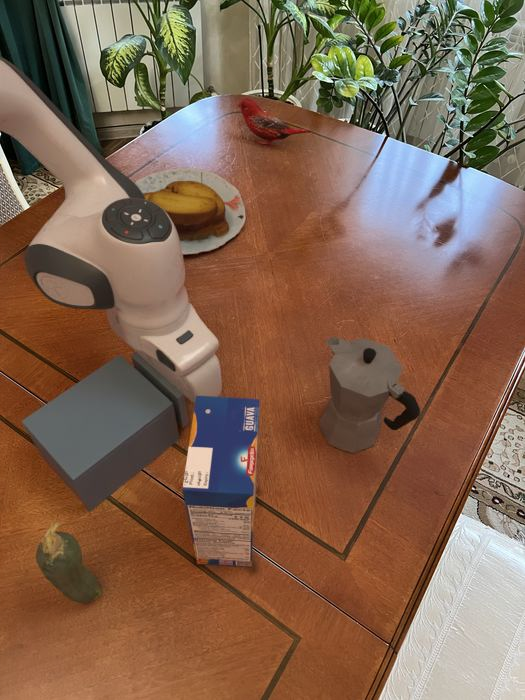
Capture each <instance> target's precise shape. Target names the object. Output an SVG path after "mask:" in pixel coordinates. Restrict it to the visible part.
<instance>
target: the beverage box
mask: <svg viewBox="0 0 525 700" xmlns="http://www.w3.org/2000/svg"><path fill="white" fill-rule="evenodd" d="M260 400H261V399H260V398H244V397H229V396H227V397H226V396H219V397H211V396H196V401H195V404H194V409H193V413H192V414H193V415H192V421H191V422H192V423H191V428H190V435H189V442H188V449H187V454H186V464H185V469H184V475H183V476H184V477H183V484H182V490H181V491H182V495H183V500H184V505H185V510H186V515H187V520H188V525H189V529H190V535H191V539H192V540H191V541H192V545H193V550H194V555H195V560H196V564H197V565H206V566H207V565H208V566H224V567H237V568H238V567H239V568H252V564H253V548H254V547H253V546H254V533H255V531H254V530H255V516H256V515H255V513H256V499H257V498H256V497H257V482H258V481H257V480H258V451H259V450H258V449H259V427H260V424H259V423H260V404H261V403H260Z"/></svg>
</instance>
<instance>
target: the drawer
mask: <svg viewBox="0 0 525 700" xmlns="http://www.w3.org/2000/svg"><path fill="white" fill-rule="evenodd" d="M130 358H131V362H132V366H133V367H134V368H135V369H136V370H138V371H139V372H140V373H141V374H142V375H143V376H144V377H145V378H146V379H147V380H148V381H149V382H151V383H152V384H153V385H154V386H155V387H156V388H157V389H158V390H159V391H160V392H161V393H162V394H164V395H165V396H166V397H167V398H168V399H169V400H170V401H171V402H172V403H173V406H174V411H175V417H176V422H177V425H179V426H180V427H181V428H182V429H183V428H185V427H186V426H187V425H189V424H190V422H189V420H190V419H189V414H188V408H187V407H188V406H187V401H186V396H185V395H184V394H183V393H181V392H180V391H179V390H178V389H177V388H176V387H175V386H174V385H172V384H171V383H170V382H169V381H168V380H167V379H166V378H165V377H164V376H162V375H161V374H160V373H159V372H158V371H157V370H156V369H155V368H153V367H152V366H151V365H150V364H149V363H148V362H147V361H146V360H144V359H143V358H142V357H141V356H140V355H139V354H138V353H137V352H135V351H134V352H133V353H132V354H130Z"/></svg>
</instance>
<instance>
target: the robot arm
mask: <svg viewBox="0 0 525 700" xmlns="http://www.w3.org/2000/svg"><path fill="white" fill-rule="evenodd" d="M0 132H3V133H5V134H7V135H9V136H10V137H12V138H14V139H15V140H16V141H17V142H19V143H20V144H21V145H22V146H23V147H24V148H25V150H27V151H28V152H29V153H30V154H31V155H32V156H33V157H34V158H35V159H36V160H37V161H38V162H39V163H40V164H41V165H42V166H43V167H44V168H45V169H46V170H48V171H49V172H50V173H51V174H52V175H53V176H54V177H55V178H56V179H57V180H58V181H59V182H60V184H61V185H62V187H63V189H64V194H65V197H64V200H63V202H62V203H61V204H60V206H59V207H58V208H57V209H56V211H55V212H54V213H53V214H52V215H51V217H49V219H48V220H46V222H45V224H44V225H43V226H42V227H41V228H40V230H38V232H37V234H35V236H34V238H33V239H32V240H31V242H30V243H29V244H28V247H26V249H25V251H24V255H23V257H24V258H23V259H24V264H25V268H26V271H27V273H28V276H29V277H30V279H31V281H32V282H33V284H34V286H36V288H37V289H38V290H39V291H40V292H41V294H42V295H43V296H44V297H45V298H47V299H48V300H49V301H50V302H52V303H54V304H56V305H58V306H62V307H66V308H68V309H76V310H99V311H100V310H105V313H106V318H107V323H108V325H109V328H110V329H111V330H112V332H113V333H114V334H116V336H117V337H119V339H121V340H122V341H123V342H124V343H125V344H126V345H127V346H129V347H130V348H131V349H132V350H133V351H134V353H135V352H137V353H138V354H139V355H140V356H141V357H142V358H143V359H144V360H146V361H147V362H148V363H149V364H150V365H151V366H152V367H153V368H155V369H156V370H157V371H158V372H159V373H160V374H161V375H162V376H164V377H165V378H166V379H167V380H168V381H169V382H170V383H171V384H172V385H174V386H175V387H176V388H177V389H178V390H179V391H180V392H181V393H183V394H184V395H185V398H187V399H188V400H189V401H190V402H192V404H193V405H195V401H196V396H211V397H221V394H222V391H223V377H222V369H221V363H220V360H219V359H218V357H217V356H218V355H216V352H217V351H219V349H220V343H219V342H220V341H219V339H218V338H217V336H216V335H214V333H213V332H212V331H211V329H210V328H209V327H208V326H207V325H206V324H205V323H204V322H203V320H202V319H201V318H200V316H199V314H198V313H197V311H196V309H195V308H194V306H193V305H192V303H191V302H189V301H190V300H189V295H188V290H187V288H186V287H185V285H184V284H185V281H186V268H185V267H186V266H185V259H184V255H183V254H182V249H181V244H180V240H179V236H178V233H177V230H176V228H175V226H174V224H173V222H172V220H171V218H170V217H169V215H168V214H167V213H166V212H165V210H164V209H163V208H161V207H160V206H159V205H157V204H155V203H154V202H151V201H149V200H146V199H145V197H144V195H143V193H142V192H141V190H140V189H139V188H138V186H137V185H136V184H135V183H134V182H135V181H133V180H132V179H131V178H129V177H128V176H127V175H126V174H124V172H122V171H120V170H119V169H118V168H117V167H115V166H114V165H113V164H111V163H110V162H109V161H108V159H106V158H105V157H104V156H103V155H102V154H101V153H100V152H99V151H98V150H97V149H96V148H95V147H94V145H92V144H91V142H90V141H89V140H88V139H87V138H86V137H85V136H84V135H83V134H82V133H81V132H80V131H79V130H78V128H77V127H75V125H74V124H73V123H72V122H71V121H70V120H69V119H68V118H67V116H66V115H64V113H63V112H62V111H61V110H60V109H59V108H58V107H57V106H56V104H54V102H52V101H51V100H50V98H49V97H48V96H47V95H46V94H45V93H44V92H43V91H42V90H41V89H40V88H39V87H38V86H37V85H36V84H35V83H34V82H33V81H32V80H31V79H30V78H29V77H28V76H27V75H26V74H25V73H24V72H23V71H22V70H20V69H19V68H18V67H17V66H15V65H14V64H13V63H12V62H10V61H9V60H7V59H6V58H4V57H2V56H0Z"/></svg>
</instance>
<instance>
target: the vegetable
mask: <svg viewBox="0 0 525 700" xmlns="http://www.w3.org/2000/svg"><path fill="white" fill-rule="evenodd" d="M61 527H63V523H59V520H57V521H52V522H50V527H49V529H46V531H45V532H46V534H44V537H42V538H41V539H40V542H39V544H38V546H37V548H36V554H35V560H36V563H37V566H38V567H39V569H40V571H41V573H42V575H43V576H44V577H45V578H46V579H47V580H48V581H49V582H50V583H51V585H52V586H53V587H54V588H56V589H57V590H58V591H59V592H60V593H61V594H62V595H63V596H64V597H65V598H66V599H68V600H70V601H72V602H75V603H79V604H82V605H87V604H90V603H91V602H93V601H95V600H97V599H99V597H102V591H101V588H100V582H99V581H98V579H97V577H96V576H95V574H93V573H92V572H91V571H90V570H89V569H88V568H87V567H86V566H85V565H84V562H83V552H82V548H81V546H80V543H79V541H78V540H77V538H76V537H75V536H74V535H73V534H71V533H68V532H64V531H59V530H58V529H59V528H61ZM57 530H58V531H57Z"/></svg>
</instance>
